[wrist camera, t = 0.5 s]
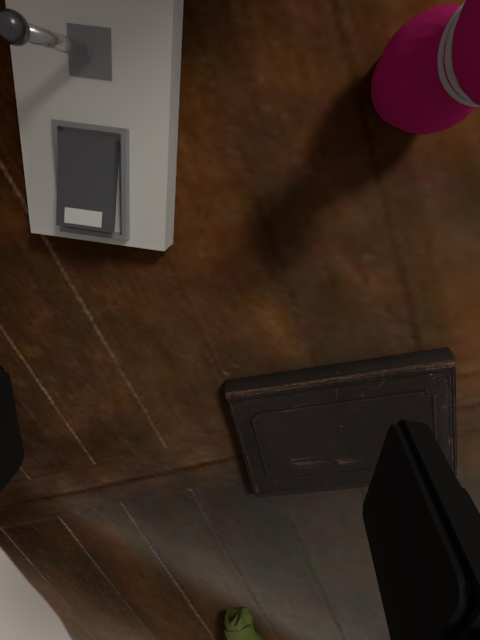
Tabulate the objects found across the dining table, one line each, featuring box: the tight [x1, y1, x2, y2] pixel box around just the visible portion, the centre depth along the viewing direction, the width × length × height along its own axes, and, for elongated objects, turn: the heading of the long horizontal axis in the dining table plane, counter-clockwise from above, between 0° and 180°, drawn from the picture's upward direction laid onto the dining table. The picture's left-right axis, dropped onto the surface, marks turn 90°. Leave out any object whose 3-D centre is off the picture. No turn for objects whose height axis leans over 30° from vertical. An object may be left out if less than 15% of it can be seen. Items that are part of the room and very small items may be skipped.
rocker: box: [56, 131, 120, 233], centre depth 31 cm, size 7×4×1 cm, turn 173°
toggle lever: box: [0, 8, 91, 59], centre depth 25 cm, size 2×2×7 cm
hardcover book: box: [224, 347, 457, 498], centre depth 43 cm, size 16×23×2 cm
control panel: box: [5, 0, 184, 251], centre depth 29 cm, size 28×12×4 cm, turn 173°
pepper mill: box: [371, 0, 480, 134], centre depth 21 cm, size 7×7×20 cm
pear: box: [224, 608, 263, 640], centre depth 59 cm, size 6×5×10 cm
